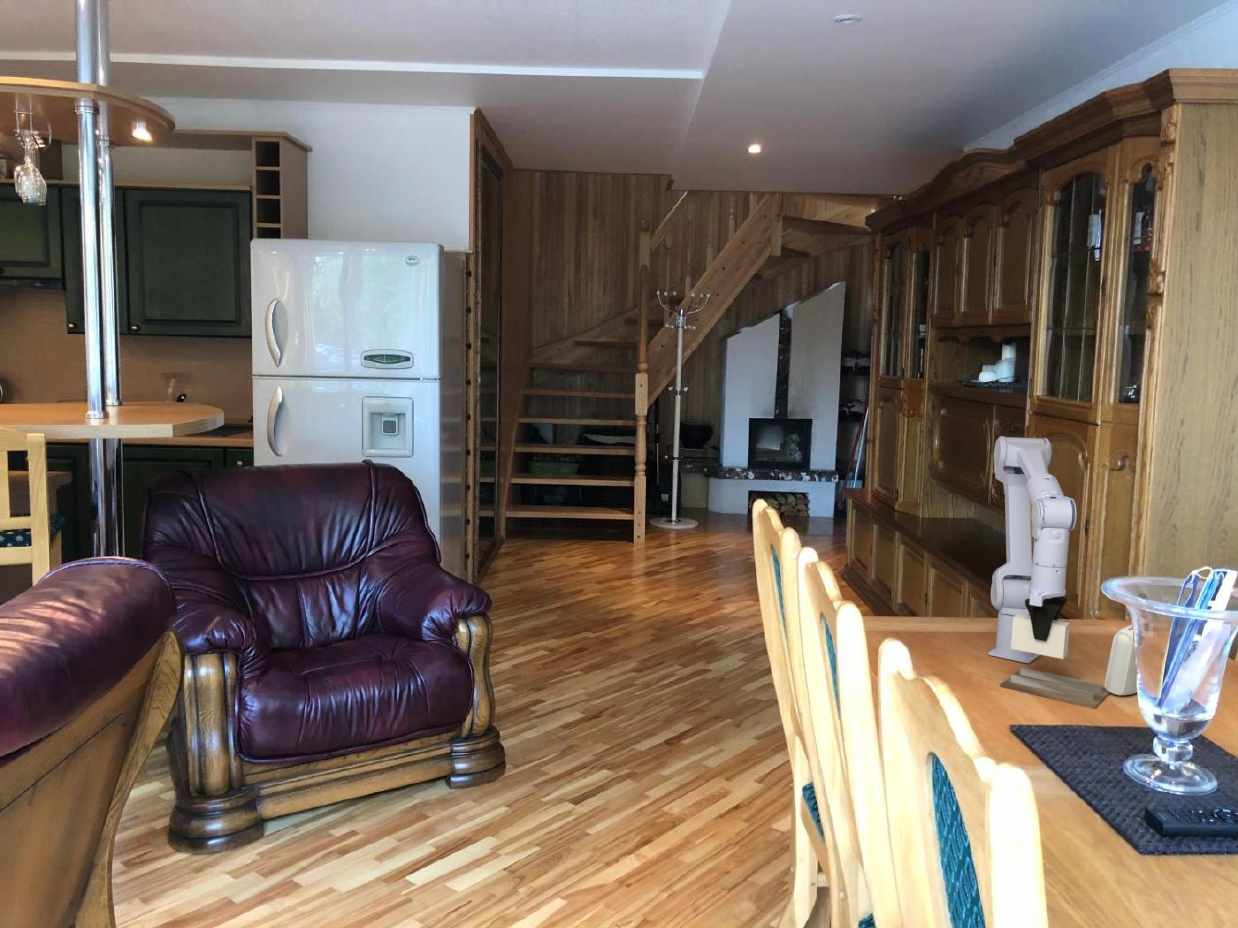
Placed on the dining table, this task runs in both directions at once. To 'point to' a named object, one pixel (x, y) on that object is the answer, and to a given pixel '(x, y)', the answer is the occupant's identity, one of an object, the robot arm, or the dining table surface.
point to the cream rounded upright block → (1121, 664)
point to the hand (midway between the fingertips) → (1043, 637)
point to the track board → (1057, 687)
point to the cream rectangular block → (1051, 647)
